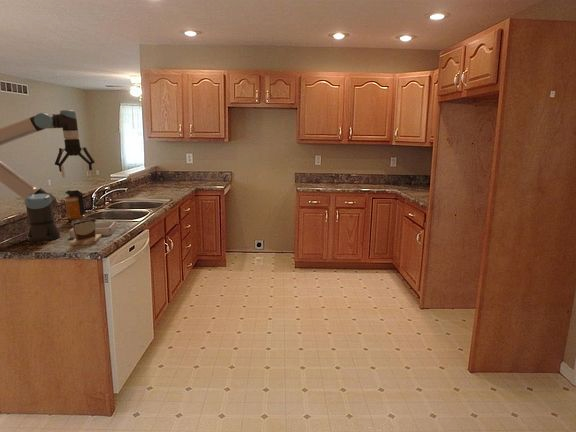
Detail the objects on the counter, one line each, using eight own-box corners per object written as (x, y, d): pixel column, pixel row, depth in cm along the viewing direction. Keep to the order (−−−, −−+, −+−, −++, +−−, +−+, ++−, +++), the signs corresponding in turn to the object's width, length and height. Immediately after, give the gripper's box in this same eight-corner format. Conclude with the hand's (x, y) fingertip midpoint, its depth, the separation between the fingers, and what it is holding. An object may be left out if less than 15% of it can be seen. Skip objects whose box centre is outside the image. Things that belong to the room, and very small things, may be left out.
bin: (70, 238, 216) (69, 230, 215) (78, 230, 232) (77, 224, 231) (111, 234, 221) (110, 227, 220) (116, 227, 237) (115, 221, 236)
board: (70, 245, 202) (69, 242, 201) (78, 237, 216) (77, 235, 216) (96, 243, 204) (95, 240, 204) (102, 236, 219) (101, 233, 218)
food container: (92, 234, 216) (89, 216, 214) (98, 236, 212) (95, 217, 210) (68, 240, 206) (66, 221, 204) (74, 241, 203) (72, 222, 201)
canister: (73, 219, 263) (69, 189, 259) (89, 219, 262) (85, 188, 258) (65, 222, 254) (60, 191, 250) (81, 222, 253) (77, 191, 249)
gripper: (44, 139, 218) (50, 178, 223) (94, 138, 224) (99, 176, 228) (49, 139, 225) (55, 177, 230) (97, 138, 231) (101, 174, 235)
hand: (76, 176), depth 229 cm, fingers open, 13 cm apart
